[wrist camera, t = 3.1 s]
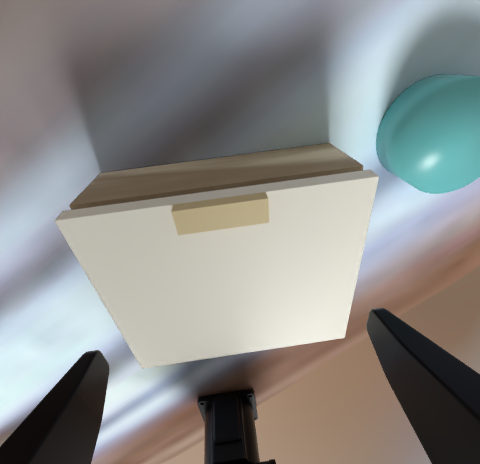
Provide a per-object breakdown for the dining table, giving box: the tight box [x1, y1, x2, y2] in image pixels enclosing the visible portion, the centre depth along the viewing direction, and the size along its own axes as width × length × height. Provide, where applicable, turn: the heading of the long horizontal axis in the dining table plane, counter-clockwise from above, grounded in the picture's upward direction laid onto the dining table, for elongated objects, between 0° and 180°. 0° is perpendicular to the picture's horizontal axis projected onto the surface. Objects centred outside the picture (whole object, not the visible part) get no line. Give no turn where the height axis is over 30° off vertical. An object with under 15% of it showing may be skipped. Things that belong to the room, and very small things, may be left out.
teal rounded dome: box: [376, 74, 480, 194], centre depth 16 cm, size 6×6×3 cm
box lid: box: [55, 170, 379, 369], centre depth 15 cm, size 12×14×1 cm
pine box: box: [69, 143, 363, 210], centre depth 18 cm, size 12×14×4 cm
